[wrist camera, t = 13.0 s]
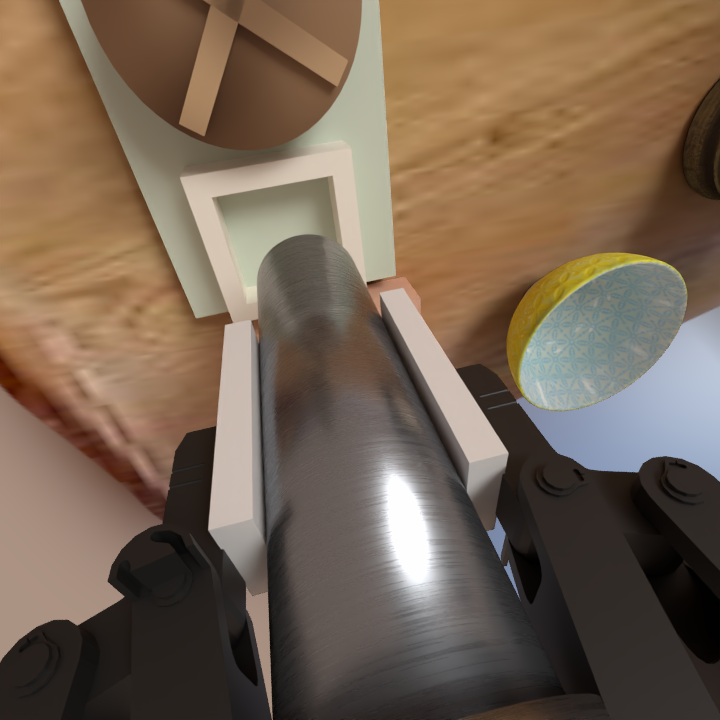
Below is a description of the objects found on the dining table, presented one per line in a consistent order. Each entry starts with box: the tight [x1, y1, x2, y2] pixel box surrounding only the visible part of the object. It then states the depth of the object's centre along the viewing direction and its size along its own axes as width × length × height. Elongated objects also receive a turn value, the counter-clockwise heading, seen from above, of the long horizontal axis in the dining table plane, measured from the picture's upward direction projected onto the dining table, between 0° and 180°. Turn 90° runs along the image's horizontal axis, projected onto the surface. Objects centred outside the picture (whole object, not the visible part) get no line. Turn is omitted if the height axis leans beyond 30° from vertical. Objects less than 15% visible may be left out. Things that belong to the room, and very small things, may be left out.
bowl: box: [507, 253, 687, 411], centre depth 28 cm, size 11×12×6 cm
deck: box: [59, 0, 396, 323], centre depth 18 cm, size 18×12×4 cm
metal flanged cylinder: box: [257, 234, 612, 720], centre depth 10 cm, size 5×5×15 cm
